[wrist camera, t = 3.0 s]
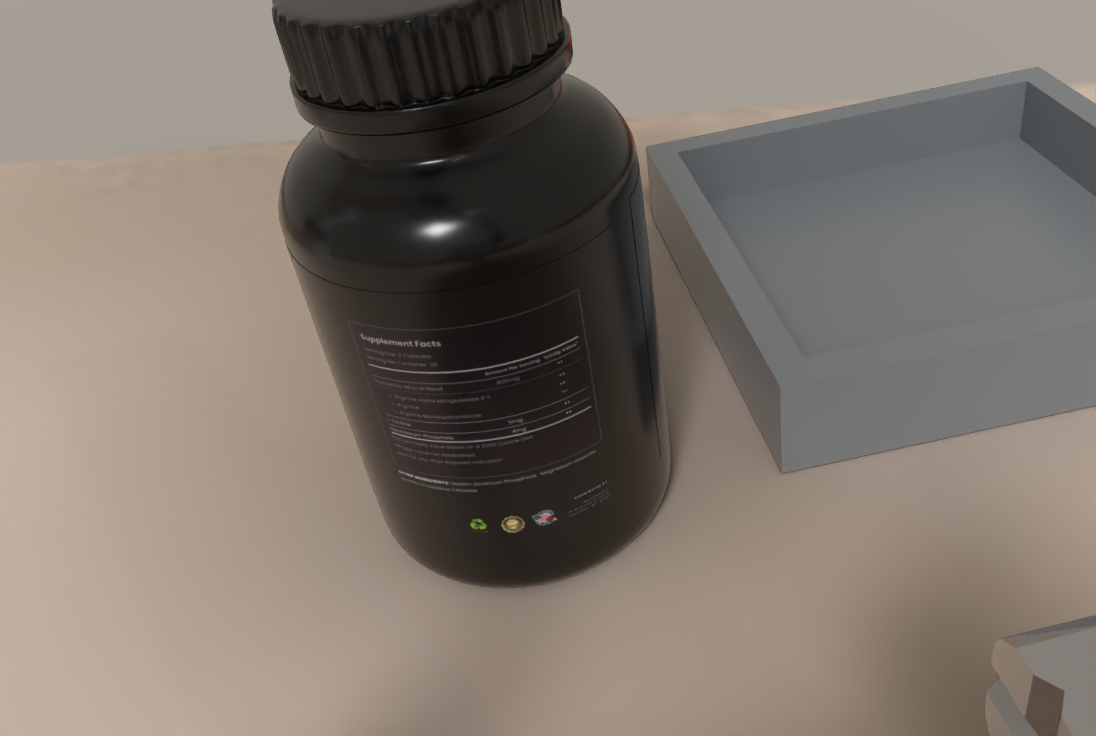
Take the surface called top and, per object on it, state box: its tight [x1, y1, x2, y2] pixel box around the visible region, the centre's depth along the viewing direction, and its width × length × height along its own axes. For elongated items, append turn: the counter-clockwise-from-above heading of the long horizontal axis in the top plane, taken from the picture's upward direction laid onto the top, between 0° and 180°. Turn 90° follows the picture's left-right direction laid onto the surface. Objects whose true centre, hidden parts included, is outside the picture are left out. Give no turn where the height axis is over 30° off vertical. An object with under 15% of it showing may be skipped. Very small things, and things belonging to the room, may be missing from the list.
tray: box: [646, 67, 1096, 473], centre depth 28 cm, size 13×13×2 cm
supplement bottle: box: [272, 0, 671, 588], centre depth 21 cm, size 7×7×12 cm
